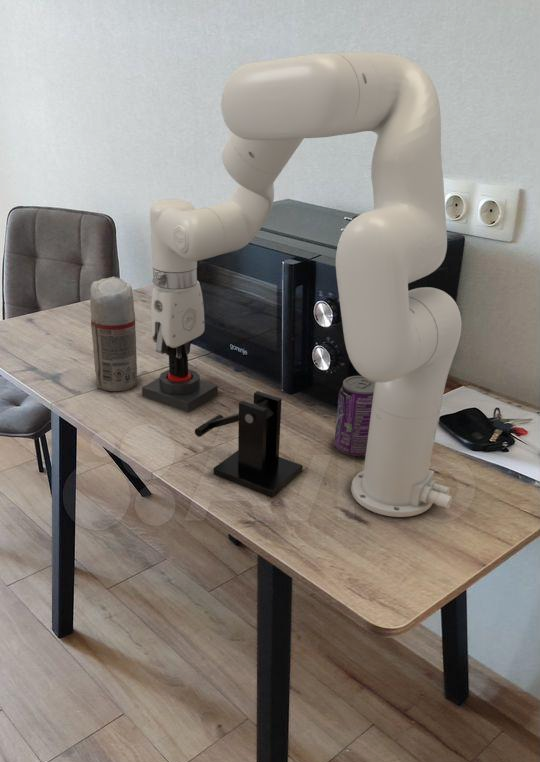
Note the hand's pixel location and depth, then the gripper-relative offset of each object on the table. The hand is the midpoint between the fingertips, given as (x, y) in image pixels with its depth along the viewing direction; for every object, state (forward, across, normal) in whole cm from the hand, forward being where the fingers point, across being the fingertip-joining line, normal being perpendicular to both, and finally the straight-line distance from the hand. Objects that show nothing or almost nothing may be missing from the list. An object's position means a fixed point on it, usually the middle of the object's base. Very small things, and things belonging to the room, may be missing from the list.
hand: (178, 374), depth 131 cm
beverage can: (+4, +2, -36) cm, 37 cm away
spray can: (+5, -3, +13) cm, 14 cm away
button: (+2, 0, 0) cm, 2 cm away
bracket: (+4, -14, -27) cm, 31 cm away
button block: (+4, 0, 0) cm, 4 cm away
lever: (-3, -14, -23) cm, 27 cm away
